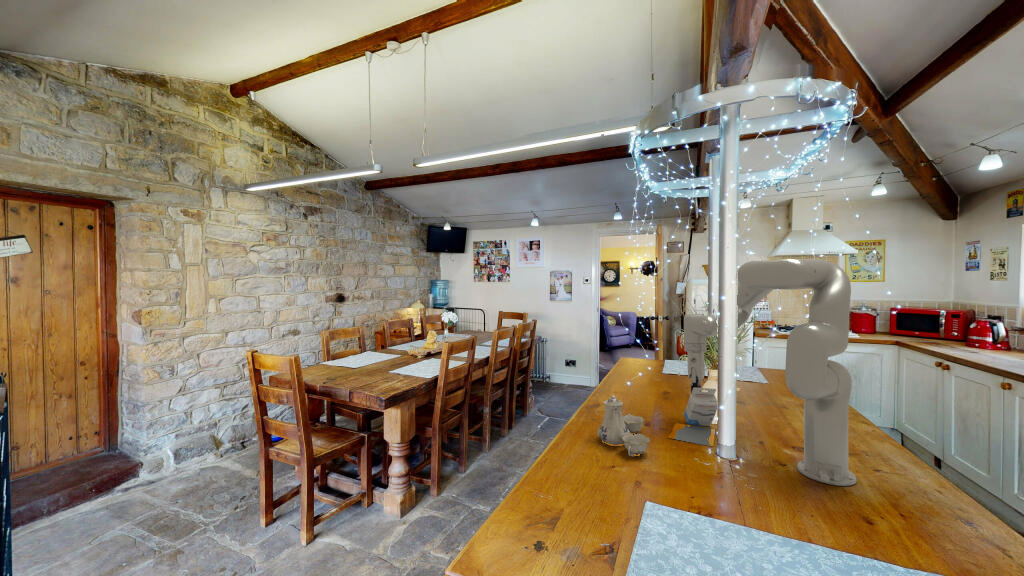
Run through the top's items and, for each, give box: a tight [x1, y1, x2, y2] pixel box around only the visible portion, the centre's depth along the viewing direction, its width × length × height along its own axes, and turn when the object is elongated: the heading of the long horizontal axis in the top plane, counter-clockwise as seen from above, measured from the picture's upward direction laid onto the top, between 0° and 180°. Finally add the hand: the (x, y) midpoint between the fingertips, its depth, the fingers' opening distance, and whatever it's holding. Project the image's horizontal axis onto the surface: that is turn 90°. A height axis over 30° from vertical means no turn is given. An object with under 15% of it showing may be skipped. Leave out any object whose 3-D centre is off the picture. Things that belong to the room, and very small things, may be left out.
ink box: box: [683, 387, 718, 427], centre depth 141 cm, size 9×5×15 cm
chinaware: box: [596, 394, 651, 457], centre depth 130 cm, size 28×17×17 cm, turn 172°
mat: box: [675, 425, 717, 447], centre depth 135 cm, size 16×14×1 cm
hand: (696, 395), depth 144 cm, fingers closed
